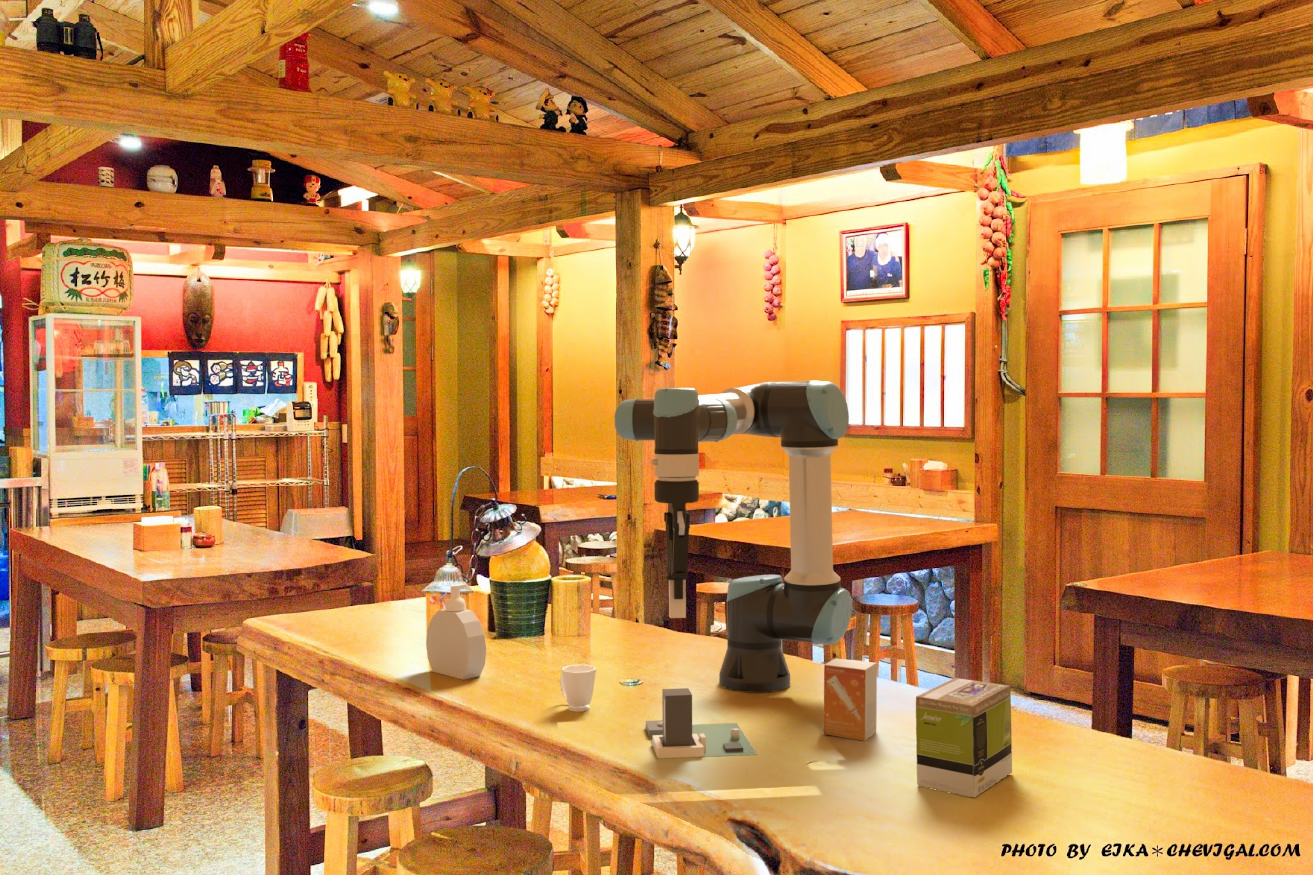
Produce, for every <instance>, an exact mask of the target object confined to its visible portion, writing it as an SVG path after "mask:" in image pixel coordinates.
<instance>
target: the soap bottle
mask: <svg viewBox="0 0 1313 875" xmlns="http://www.w3.org/2000/svg"><path fill="white" fill-rule="evenodd" d="M466 587H467V583H459V584H458V583H457V584H451V585H450V597H449V598H447V599H446V600H445V608H443V609H438V610H437V611H436V612H435V613H434V614H433V615H432V616H431V619H430V621H429V625H428V627H427V629H426V630H427V632H426V643H425V644H426V645H425V646H426V653H427V659H428V663H429V666H430V668H431V671H432V673H435V674H440V675H444V676H447V677H451V678H453V679H456V680H457V679H458V680H462V681H465V680H469V679H474V678H478V677H481V675H482V672H483V670H484V667H485V665H486V659H487V657H486V656H487V642H486V635H485V632H484V629H483V627H482V624H481V620H480V619H479V617H477V615H476V614H475V613H474V611H473V610H471V609H467V608H466V607H467V606H466V601H465V599H464V598H463V597H461V590H460V589H464V588H466Z"/></svg>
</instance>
